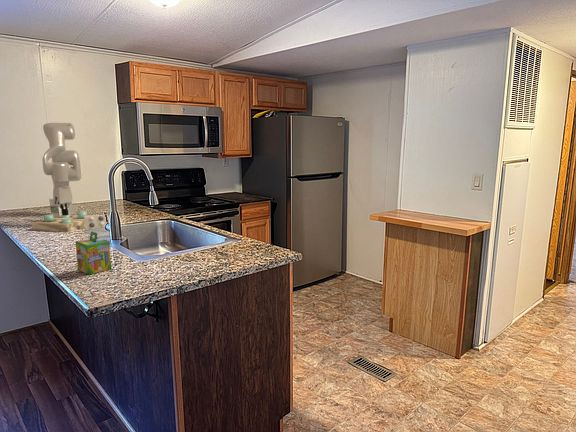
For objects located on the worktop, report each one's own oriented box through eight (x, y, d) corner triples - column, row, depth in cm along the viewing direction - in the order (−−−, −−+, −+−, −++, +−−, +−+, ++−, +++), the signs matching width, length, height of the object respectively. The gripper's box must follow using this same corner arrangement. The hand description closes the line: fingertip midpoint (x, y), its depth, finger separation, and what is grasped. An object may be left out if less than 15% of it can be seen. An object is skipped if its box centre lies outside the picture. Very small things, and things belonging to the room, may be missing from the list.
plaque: (85, 228, 229) (84, 216, 228) (108, 226, 234) (107, 214, 233) (85, 228, 228) (84, 216, 226) (108, 226, 233) (107, 214, 231)
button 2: (65, 220, 245) (65, 214, 244) (72, 221, 244) (71, 214, 243) (59, 222, 240) (58, 215, 240) (66, 222, 239) (65, 215, 238)
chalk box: (77, 270, 155) (73, 233, 152) (101, 265, 162) (97, 228, 159) (88, 275, 150) (84, 236, 147) (112, 269, 157) (109, 232, 154)
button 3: (66, 225, 231) (66, 218, 230) (73, 226, 229) (73, 219, 229) (60, 227, 226) (59, 220, 225) (67, 227, 225) (66, 220, 224)
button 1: (49, 221, 233) (48, 214, 232) (55, 221, 232) (55, 214, 231) (42, 222, 229) (41, 215, 228) (49, 223, 227) (48, 216, 227)
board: (65, 221, 250) (64, 215, 249) (98, 223, 243) (98, 216, 243) (32, 229, 227) (31, 222, 226) (67, 232, 221) (67, 224, 220)
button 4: (82, 217, 241) (81, 211, 241) (88, 218, 240) (88, 211, 240) (75, 219, 237) (75, 212, 236) (82, 219, 236) (82, 213, 235)
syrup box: (66, 219, 256) (63, 196, 253) (60, 221, 250) (57, 198, 247) (57, 219, 256) (55, 196, 254) (51, 221, 251) (48, 197, 248)
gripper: (66, 183, 246) (69, 212, 249) (45, 185, 232) (49, 217, 235) (76, 183, 244) (79, 213, 247) (56, 185, 230) (60, 217, 233)
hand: (65, 215), depth 241 cm, fingers closed
